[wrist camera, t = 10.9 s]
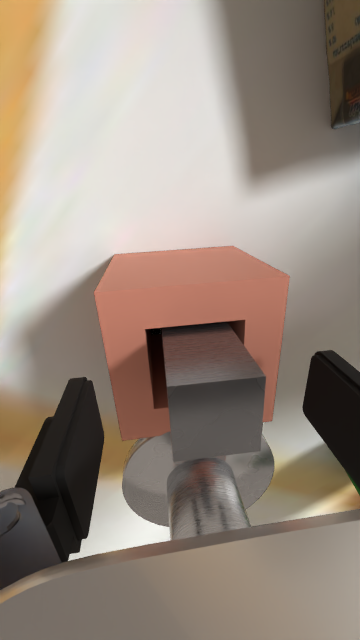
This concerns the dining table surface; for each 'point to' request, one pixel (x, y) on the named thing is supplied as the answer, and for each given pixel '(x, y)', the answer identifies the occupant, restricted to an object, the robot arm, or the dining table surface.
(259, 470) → the silver flanged rod
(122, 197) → the dining table surface
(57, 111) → the dining table surface
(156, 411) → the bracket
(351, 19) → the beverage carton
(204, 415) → the gray square bar
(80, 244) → the dining table surface
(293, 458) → the dining table surface
